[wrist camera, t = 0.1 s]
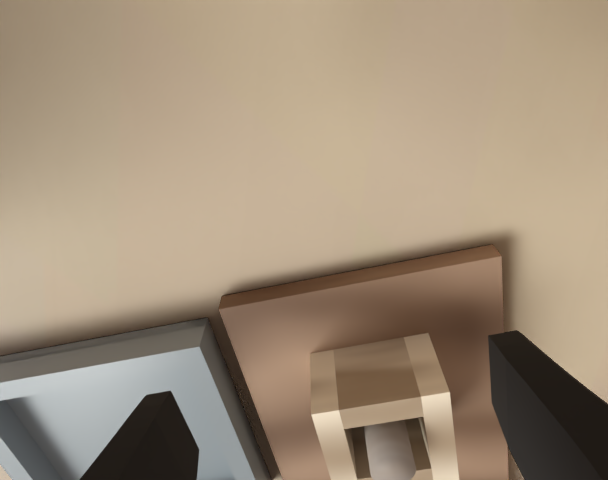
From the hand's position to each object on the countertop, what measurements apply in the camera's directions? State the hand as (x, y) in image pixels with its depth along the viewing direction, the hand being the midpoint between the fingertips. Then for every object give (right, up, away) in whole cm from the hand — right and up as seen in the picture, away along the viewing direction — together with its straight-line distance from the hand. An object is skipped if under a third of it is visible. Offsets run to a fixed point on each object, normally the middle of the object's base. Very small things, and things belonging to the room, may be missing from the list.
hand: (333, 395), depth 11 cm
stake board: (+4, -6, +14) cm, 16 cm away
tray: (-10, -6, +15) cm, 19 cm away
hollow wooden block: (+3, -3, +12) cm, 13 cm away
